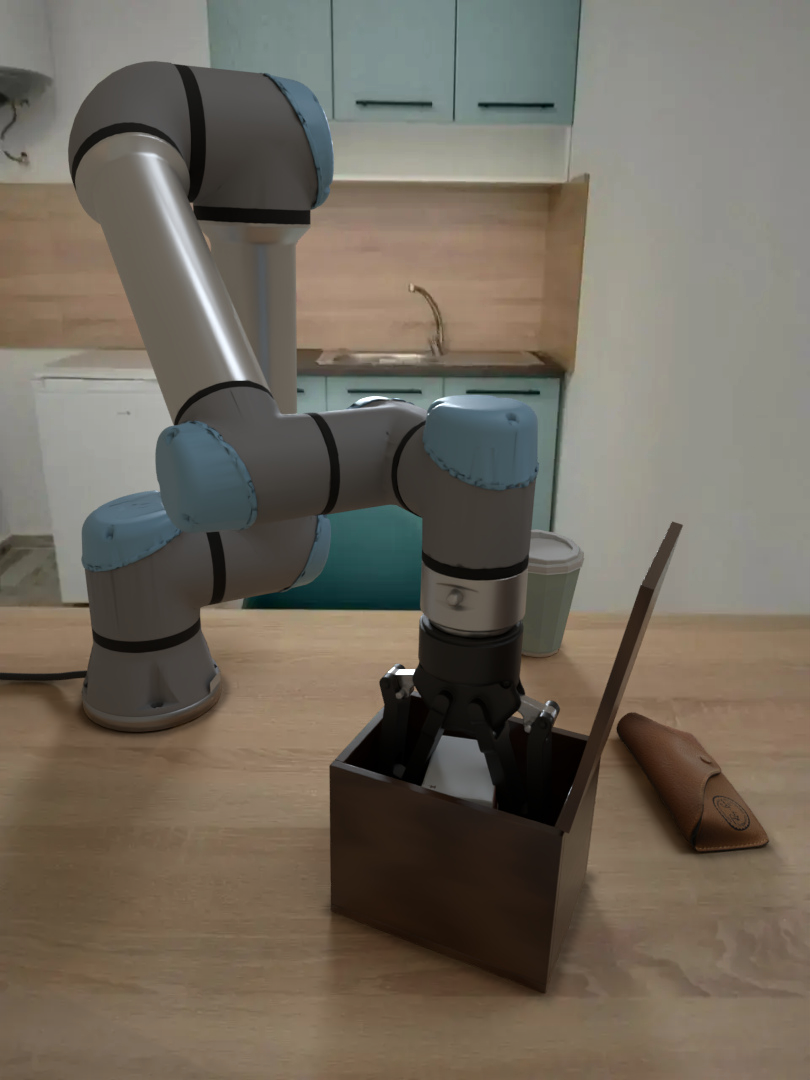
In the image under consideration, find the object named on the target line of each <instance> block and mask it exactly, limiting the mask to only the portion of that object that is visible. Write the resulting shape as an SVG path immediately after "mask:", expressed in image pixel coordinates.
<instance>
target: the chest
mask: <svg viewBox="0 0 810 1080" xmlns="http://www.w3.org/2000/svg"><path fill="white" fill-rule="evenodd" d="M383 711H384V705H383V706H382V707H381V709H380V710H379V711H378V712H376V714H375V715H374V716H373V717H372V719H370V720H369V722H368V723H367V724H366V725H365V726H364V727H363V728H362V729H361V730H360V732H358V734H357V735H356V736H355V737H354V738H353V739H352V740H351V741H350V742H349V744H347V746H346V747H345V748H344V749H343V750H342V751H341V752H340V753H339V754H338V755H337V757H335V758H334V760H333V761H332V762H330V764H329V767H328V768H329V774H328V775H329V857H330V858H329V865H330V866H329V869H330V870H329V871H330V872H329V875H330V876H329V877H330V878H329V879H330V880H329V881H330V912H332V913H335V914H338V915H339V916H343V917H345V918H348V919H350V920H352V921H355V922H358V923H361V924H364V925H366V926H368V927H371V928H373V929H377V930H379V931H382V932H384V933H387V934H390V935H392V936H395V937H397V938H400V939H403V940H405V941H407V942H410V943H413V944H415V945H418V946H420V947H424V948H426V949H428V950H431V951H434V952H436V953H439V954H441V955H444V956H447V957H449V958H451V959H455V960H457V961H459V962H462V963H465V964H468V965H470V966H473V967H475V968H477V969H480V970H482V971H486V972H488V973H490V974H493V975H496V976H499V977H501V978H504V979H507V980H509V981H512V982H514V983H517V984H519V985H522V986H525V987H527V988H529V989H532V990H535V991H538V992H540V993H543V994H546V993H547V990H548V988H549V984H550V982H551V978H552V975H553V974H554V971H555V968H556V965H557V962H558V959H559V955H560V953H561V950H562V947H563V945H564V941H565V939H566V936H567V933H568V930H569V927H570V924H571V923H572V922H571V921H572V919H573V916H574V914H575V910H576V907H577V904H578V902H579V898H580V896H581V893H582V890H583V888H584V884H585V882H586V879H587V872H588V864H589V863H588V862H589V855H590V848H591V839H592V831H593V823H594V816H595V807H596V799H597V791H598V784H599V775H600V768H601V767H600V766H601V760H602V756H601V757H600V759H599V762H598V764H597V766H596V769H595V771H594V774H593V776H592V779H591V781H590V784H589V786H588V789H587V791H586V794H585V796H584V799H583V801H582V804H581V806H580V808H579V811H578V813H577V816H576V818H575V821H574V823H573V826H572V828H571V831H570V833H569V834H568V833H566V832H564V831H562V830H559V829H558V826H559V823H560V820H561V817H562V814H563V811H564V808H565V806H566V803H567V800H568V797H569V794H570V791H571V788H572V785H573V782H574V779H575V776H576V773H577V770H578V767H579V764H580V761H581V759H582V756H583V753H584V750H585V747H586V744H587V741H588V738H589V735H588V734H583V733H580V732H576V731H572V730H568V729H565V728H560V727H556V726H553V728H552V810H551V812H550V814H549V817H548V819H547V821H546V823H545V824H543V823H539V822H536V821H533V820H530V819H526V818H523V817H520V816H516V815H513V814H510V813H507V812H503V811H500V809H499V805H498V810H497V809H493V808H490V807H487V806H484V805H480V804H477V803H474V802H470V801H467V800H464V799H461V798H457V797H454V796H451V795H447V794H444V793H441V792H438V791H434V790H431V789H428V788H424V787H421V785H422V783H423V781H424V778H425V776H424V777H423V779H422V780H421V782H420V786H418V785H415V784H411V783H408V782H405V781H401V780H398V779H395V778H392V777H388V776H385V775H382V774H378V773H377V767H378V758H379V749H380V739H381V730H382V721H383ZM428 714H429V709H428V708H427V706H426V704H425V703H424V701H423V699H422V698H421V696H420V694H419V693H418V691H417V690H414V691H413V692H412V693H411V700H410V708H409V717H408V725H407V733H406V741H405V750H404V758H403V766H404V767H406V766H407V764H408V762H409V760H410V757H411V755H412V753H413V751H414V748H415V746H416V744H417V741H418V739H419V737H420V735H421V730H422V727H423V725H424V723H425V720H426V718H427V716H428ZM508 724H509V738H510V742H511V746H512V749H513V753H514V757H515V760H516V764H517V768H518V771H519V775H520V779H521V782H522V786H523V790H524V793H525V797H526V801H527V740H528V736H529V733H527V732H525V730H524V726H523V717H522V718H521V717H518V716H514V715H512V716H511V717H510V718H509V719H508ZM442 735H443V736H451V737H458V738H465V739H473V740H477V739H476V737H472V736H469V735H468V734H466V733H464V732H462V731H450V730H446V729H445V730H444V732H443V734H442ZM427 769H428V767H427ZM426 772H427V770H426ZM426 772H425V774H426Z"/></svg>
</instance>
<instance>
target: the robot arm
mask: <svg viewBox="0 0 810 1080" xmlns="http://www.w3.org/2000/svg"><path fill="white" fill-rule="evenodd" d="M326 115H327V114H326V113H325V110H324V108H323V106H322V105H321V104H320V101H319V99H318V97H317V95H316V94H315V93H314V92H313V91H312V90H311V89H310V88H309V86H307V85H305V84H304V83H303V82H301V81H298V80H295V79H292V78H291V79H290V78H286V77H281V76H277V75H272V74H270V73H268V72H264V73H263V72H252V71H244V70H243V71H242V70H233V69H224V68H214V67H204V66H195V65H185V64H178V63H172V62H167V61H158V60H150V61H149V60H148V61H141V62H136V63H131V64H128V65H126V66H123V67H121V68H119V69H118V70H115V71H113V72H111V73H110V74H109V75H107V76H106V77H105V78H103V79H102V80H101V81H100V82H98V83H97V84H96V85H95V86H94V87H93V89H92V90H91V91H90V92H89V93H88V95H87V96H86V97H85V98H84V100H83V101H82V103H81V104H80V106H79V108H78V110H77V112H76V114H75V117H74V119H73V123H72V126H71V129H70V132H69V133H70V134H69V137H68V138H69V139H68V146H67V160H68V161H67V162H68V169H69V170H68V171H69V174H70V178H71V181H72V184H73V187H74V191H75V194H76V196H77V199H78V201H79V203H80V205H81V207H82V209H83V210H84V212H85V213H86V214H87V216H89V217H90V218H91V219H92V220H93V221H95V222H96V223H97V224H99V225H100V227H101V229H102V233H103V236H104V238H105V241H106V243H107V246H108V249H109V252H110V254H111V257H112V261H113V263H114V266H115V268H116V271H117V273H118V276H119V279H120V282H121V285H122V287H123V291H124V293H125V295H126V298H127V302H128V304H129V307H130V309H131V312H132V316H133V317H134V321H135V323H136V326H137V328H138V332H139V335H140V337H141V340H142V343H143V345H144V348H145V350H146V353H147V356H148V359H149V362H150V364H151V368H152V370H153V372H154V375H155V378H156V381H157V384H158V386H159V390H160V392H161V394H162V397H163V400H164V403H165V406H166V408H167V411H168V414H169V417H170V419H171V422H172V425H170V426H167V427H165V428H164V429H163V430H162V431H161V432H160V434H159V435H158V437H157V440H156V446H155V453H154V454H155V455H154V457H155V459H154V461H155V462H154V463H155V473H156V480H157V483H158V485H159V486H158V487H159V491H158V490H157V489H156V490H155V489H154V490H145V491H140V492H135V493H131V494H127V495H123V496H121V497H118V498H115V499H112V500H109V501H108V502H105V503H103V504H101V505H100V506H98V507H97V508H96V509H95V510H93V511H91V513H90V514H89V515H88V516H87V517H86V518H85V520H84V521H83V524H82V527H81V558H80V559H81V565H82V567H83V568H84V575H85V576H84V577H85V584H86V592H87V599H88V600H87V601H88V608H89V617H90V626H91V633H92V634H91V635H92V646H91V650H90V654H89V658H88V664H87V668H86V670H74V671H66V672H65V671H64V672H50V673H49V672H47V673H45V672H44V673H43V672H41V673H38V672H36V673H34V672H33V673H31V672H30V673H29V672H2V671H1V672H0V681H22V682H23V681H25V682H27V681H28V682H47V681H48V682H49V681H51V682H52V681H53V682H54V681H68V680H75V679H84V680H83V682H82V686H81V697H82V707H83V711H84V713H85V715H86V716H87V718H89V719H90V720H91V721H92V722H94V723H95V724H96V725H99V726H101V727H104V728H107V729H109V730H114V731H121V732H131V733H133V732H136V733H142V732H153V731H160V730H165V729H169V728H173V727H177V726H180V725H183V724H186V723H188V722H190V721H192V720H195V719H197V718H198V717H201V716H202V715H204V714H205V713H207V712H208V711H209V710H210V709H211V708H212V707H213V706H214V705H215V704H216V703H217V702H218V700H219V699H220V696H221V693H222V678H221V677H222V676H221V675H222V674H221V669H220V668H219V666H218V664H217V662H216V660H215V659H214V658H213V657H212V654H211V650H210V647H209V645H208V642H207V640H206V638H205V635H204V632H203V629H202V621H201V608H204V607H207V606H212V605H218V604H222V603H227V602H228V603H229V602H233V601H238V600H243V599H249V598H253V597H259V596H263V595H268V594H273V593H278V594H279V593H280V594H281V593H285V592H288V591H289V590H291V589H293V588H297V587H302V586H306V585H309V584H310V583H312V582H314V581H315V579H316V578H318V577H319V576H320V575H321V573H322V572H323V570H324V569H325V567H326V564H327V562H328V559H329V555H330V549H331V541H332V528H331V527H332V526H331V520H330V519H329V518H328V515H333V514H339V513H346V512H351V511H352V512H353V511H358V510H365V509H371V508H378V507H384V506H396V507H399V508H401V509H403V510H405V511H406V512H408V513H410V514H413V515H414V516H416V517H418V518H421V520H422V521H421V522H422V523H421V524H422V525H421V570H420V573H421V574H420V596H419V597H420V598H419V608H420V611H421V613H422V614H420V615H421V616H420V618H419V623H418V626H419V627H418V652H417V656H418V657H417V658H418V664H417V666H416V668H408V669H407V668H406V667H405V666H404V664H401V663H395V664H393V666H392V667H391V668H390V669H388V671H386V673H384V675H383V676H382V677H381V678H380V679H379V683H378V684H379V689H380V693H381V696H382V697H381V698H382V700H383V706H384V711H383V721H382V730H381V739H380V749H379V758H378V767H377V773H378V774H382V775H385V776H388V777H392V778H395V779H398V780H401V781H405V782H408V783H411V784H415V785H418V786H420V782H421V780H422V779H423V777H424V776H425V775H426V774H425V772H426V770H427V767H428V765H429V762H430V759H431V756H432V754H433V753H434V751H435V750H436V748H437V745H438V743H439V741H440V739H441V737H442V734H443V732H444V730H445V729H446V730H450V731H462V732H464V733H466V734H468V735H469V736H472V737H476V739H477V742H478V746H479V749H480V752H481V753H484V756H485V759H486V763H487V766H488V770H489V773H490V777H491V780H492V784H493V785H494V786H495V787H496V798H497V802H498V805H499V809H500V811H503V812H507V813H510V814H513V815H516V816H520V817H523V818H526V819H530V820H533V821H536V822H539V823H543V824H545V823H546V821H547V819H548V817H549V814H550V812H551V810H552V728H553V727H554V725H555V723H556V720H557V718H558V716H559V714H560V711H561V708H560V704H559V703H558V702H556V701H555V700H546V701H545V702H544V703H542V702H540V701H538V700H536V699H535V698H533V697H530V696H528V695H526V691H525V688H524V686H523V683H522V680H521V668H522V667H521V666H522V655H523V654H522V643H523V631H524V625H523V622H522V621H521V619H522V618H523V617H524V615H525V608H526V593H527V578H528V562H529V551H530V540H531V530H533V529H532V528H533V517H534V506H535V494H536V483H537V478H538V474H539V469H540V463H539V462H538V460H539V459H538V458H539V457H538V452H539V451H538V448H539V447H538V445H539V444H538V443H539V442H538V441H539V439H538V437H539V432H538V431H539V421H538V417H537V414H536V412H535V411H534V409H533V408H532V407H531V406H530V405H529V404H528V403H525V402H523V401H521V400H518V399H516V398H515V399H514V398H511V397H499V396H495V395H488V394H457V395H456V394H455V395H448V396H443V397H440V398H438V399H435V400H434V401H433V402H431V404H430V405H429V407H428V408H427V409H426V408H423V407H420V406H418V405H416V404H415V403H413V402H411V401H406V400H404V399H403V398H396V397H386V396H377V395H376V396H375V395H373V396H367V397H363V398H361V399H358V400H357V401H355V402H354V403H352V404H351V405H349V406H348V407H347V408H345V409H337V410H328V411H317V412H301V413H298V360H297V358H298V351H297V344H298V343H297V342H298V341H297V244H298V242H299V240H300V239H301V238H302V237H303V236H304V235H305V234H306V233H307V232H308V231H309V230H310V229H311V226H312V225H311V221H312V220H311V211H313V210H315V209H317V208H319V207H321V206H322V205H323V204H324V203H326V201H327V200H328V197H329V195H330V193H331V188H330V186H331V185H332V184H333V181H334V174H335V173H334V171H335V154H334V146H333V139H332V133H331V129H330V125H329V122H328V118H327V116H326ZM191 204H192V205H191ZM205 236H206V237H207V238H208V241H209V244H210V247H209V245H208V242H207V240H206V238H205ZM415 689H416V690H415ZM413 691H417V692H418V693H419V694H420V696H421V698H422V699H423V701H424V703H425V704H426V706H427V708H428V709H429V714H428V716H427V718H426V720H425V723H424V725H423V727H422V730H421V735H420V737H419V739H418V741H417V744H416V746H415V748H414V751H413V753H412V755H411V757H410V760H409V762H408V764H407V766H406V767H404V766H403V758H404V750H405V741H406V733H407V725H408V717H409V708H410V700H411V693H412V692H413ZM517 712H518V713H519V714H520V715H521V717H522V719H523V726H524V730H525V732H527V733H529V736H528V740H527V801H526V797H525V793H524V790H523V786H522V782H521V779H520V775H519V771H518V768H517V764H516V760H515V757H514V753H513V749H512V746H511V742H510V738H509V724H508V719H509V718H510V717H511V716H514V715H515V714H516V713H517ZM422 784H423V783H422ZM421 786H422V785H421Z"/></svg>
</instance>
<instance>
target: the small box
mask: <svg viewBox="0 0 810 1080" xmlns="http://www.w3.org/2000/svg"><path fill="white" fill-rule="evenodd" d="M421 787H424V788H428V789H431V790H434V791H438V792H441V793H444V794H447V795H451V796H454V797H457V798H461V799H464V800H467V801H470V802H474V803H477V804H480V805H484V806H487V807H490V808H493V809H497V810H498V802H497V798H496V787H495V786H494V785H493V784H492V780H491V777H490V773H489V770H488V766H487V763H486V759H485V756H484V753H481V752H480V749H479V746H478V742H477V740H473V739H465V738H458V737H451V736H443V735H442V737H441V739H440V741H439V743H438V745H437V748H436V750H435V751H434V753H433V754H432V756H431V759H430V762H429V765H428V769H427V772H426V775H425V778H424V781H423V784H422V786H421Z"/></svg>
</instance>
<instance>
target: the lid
mask: <svg viewBox="0 0 810 1080" xmlns="http://www.w3.org/2000/svg"><path fill="white" fill-rule="evenodd" d="M683 527H684V525H683V524H682V523H679V522H676V521H671V522H670V524H669V527H667V528H668V529H667V530H666V532H665V534H664V536H663V538H662V541H661V542H660V545H659V546H658V549H657V550H656V552H655V555H654V557H653V559H652V560H651V563H650V565H649V567H648V569H647V571H646V573H645V575H644V577H643V579H642V581H641V584H640V586H639V588H638V591H637V593H636V597H635V600H634V603H633V606H632V608H631V612H630V615H629V618H628V621H627V624H626V626H625V630H624V633H623V635H622V639H621V641H620V644H619V647H618V650H617V652H616V656H615V660H614V661H613V665H612V667H611V671H610V674H609V677H608V680H607V682H606V685H605V688H604V692H603V694H602V697H601V700H600V703H599V706H598V709H597V712H596V714H595V718H594V721H593V722H592V723H593V724H592V726H591V729H590V732H589V735H588V736H589V738H588V741H587V744H586V747H585V750H584V753H583V756H582V759H581V761H580V764H579V767H578V770H577V773H576V776H575V779H574V782H573V785H572V788H571V791H570V794H569V797H568V800H567V803H566V806H565V808H564V811H563V814H562V817H561V820H560V823H559V826H558V829H559V830H562V831H564V832H566V833H568V834H569V833H570V831H571V828H572V826H573V823H574V821H575V818H576V816H577V813H578V811H579V808H580V806H581V804H582V801H583V799H584V796H585V794H586V791H587V789H588V786H589V784H590V781H591V779H592V776H593V774H594V771H595V769H596V766H597V764H598V762H599V759H600V757H601V758H602V754H603V752H604V749H605V747H606V744H607V742H608V739H609V737H610V734H611V732H612V729H613V726H614V723H615V719H616V717H617V714H618V711H619V708H620V705H621V704H622V700H623V697H624V694H625V692H626V688H627V686H628V683H629V680H630V677H631V674H632V673H633V672H632V671H633V669H634V666H635V663H636V660H637V658H638V655H639V651H640V648H641V646H642V644H643V640H644V637H645V635H646V632H647V630H648V626H649V624H650V620H651V618H652V615H653V612H654V609H655V606H656V603H657V601H658V598H659V595H660V592H661V589H662V587H663V584H664V581H665V578H666V575H667V572H668V571H669V570H668V569H669V566H670V564H671V561H672V559H673V555H674V552H675V550H676V547H677V544H678V541H679V538H680V536H681V532H682V530H683Z"/></svg>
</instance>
